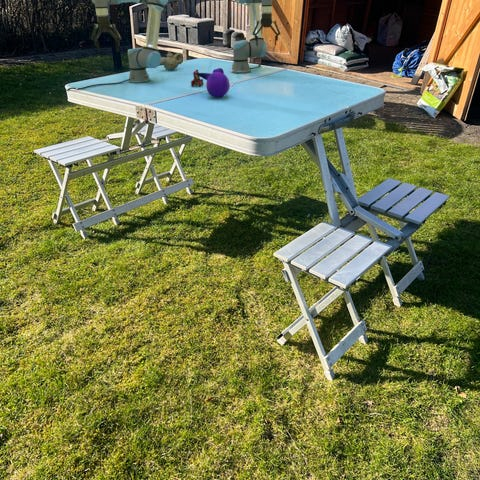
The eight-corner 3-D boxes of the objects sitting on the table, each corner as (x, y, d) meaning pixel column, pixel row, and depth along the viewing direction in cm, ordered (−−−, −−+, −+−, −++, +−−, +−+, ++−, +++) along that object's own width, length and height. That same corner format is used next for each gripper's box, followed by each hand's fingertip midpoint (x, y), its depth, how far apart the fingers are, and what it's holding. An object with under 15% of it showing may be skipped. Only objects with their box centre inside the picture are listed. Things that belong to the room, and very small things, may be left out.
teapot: (162, 72, 368) (160, 52, 361) (157, 70, 377) (155, 51, 369) (186, 69, 377) (184, 50, 370) (180, 67, 386) (179, 48, 378)
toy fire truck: (204, 83, 326) (203, 68, 321) (200, 87, 316) (199, 71, 311) (194, 83, 327) (193, 68, 322) (190, 87, 317) (189, 71, 312)
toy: (217, 89, 307) (229, 103, 286) (192, 85, 299) (203, 98, 279) (222, 66, 299) (235, 78, 278) (197, 61, 291) (209, 73, 271)
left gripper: (123, 15, 286) (128, 50, 297) (87, 15, 290) (93, 50, 300) (118, 16, 279) (123, 52, 290) (81, 16, 283) (88, 52, 294)
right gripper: (284, 12, 319) (283, 44, 330) (249, 12, 322) (249, 44, 333) (284, 13, 313) (283, 46, 323) (248, 13, 316) (248, 46, 326)
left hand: (108, 51), depth 295 cm, fingers open, 13 cm apart
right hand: (266, 45), depth 328 cm, fingers open, 13 cm apart
